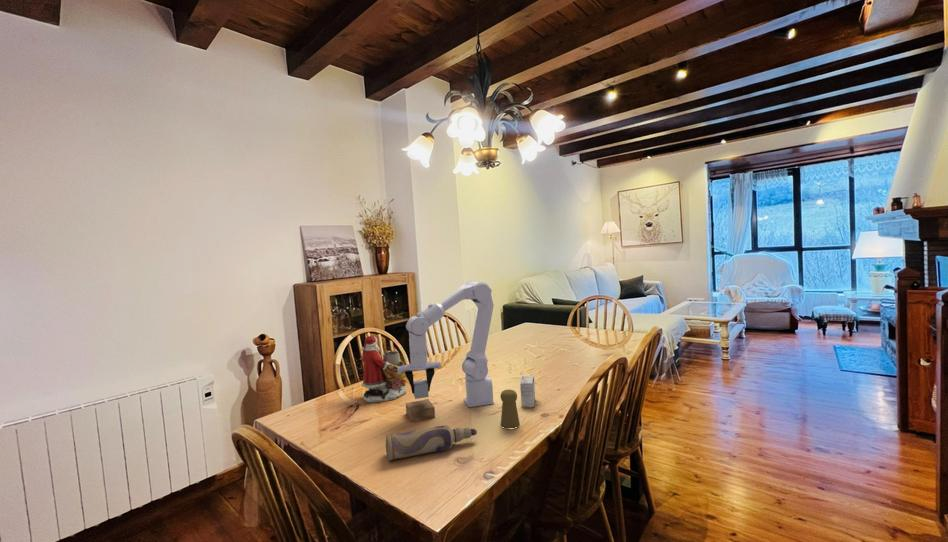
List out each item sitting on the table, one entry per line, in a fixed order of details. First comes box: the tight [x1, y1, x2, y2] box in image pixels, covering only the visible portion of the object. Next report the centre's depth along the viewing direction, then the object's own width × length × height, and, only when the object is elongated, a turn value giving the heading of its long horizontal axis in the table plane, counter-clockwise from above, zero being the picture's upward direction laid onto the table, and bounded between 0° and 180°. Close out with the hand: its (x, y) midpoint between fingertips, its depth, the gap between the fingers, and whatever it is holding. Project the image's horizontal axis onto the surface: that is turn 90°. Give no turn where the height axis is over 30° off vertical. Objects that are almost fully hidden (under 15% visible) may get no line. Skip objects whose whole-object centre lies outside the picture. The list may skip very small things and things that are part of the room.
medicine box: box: [519, 375, 536, 408], centre depth 140 cm, size 8×4×9 cm, turn 168°
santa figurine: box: [360, 335, 407, 404], centre depth 154 cm, size 17×14×25 cm
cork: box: [500, 389, 521, 429], centre depth 123 cm, size 6×6×11 cm
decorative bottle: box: [385, 424, 478, 462], centre depth 110 cm, size 26×8×7 cm, turn 106°
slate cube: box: [413, 379, 430, 400], centre depth 134 cm, size 4×4×4 cm
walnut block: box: [405, 398, 436, 423], centre depth 134 cm, size 8×8×4 cm
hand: (420, 391), depth 134 cm, fingers closed on slate cube, 4 cm apart
